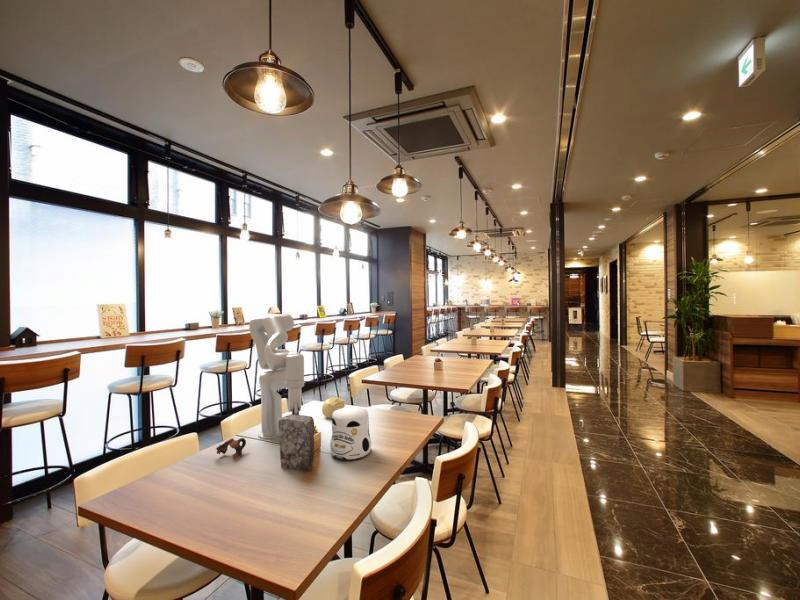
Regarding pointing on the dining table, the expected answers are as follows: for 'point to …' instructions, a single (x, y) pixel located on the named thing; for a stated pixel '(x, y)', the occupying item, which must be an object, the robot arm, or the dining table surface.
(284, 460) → the stone block
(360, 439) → the milk container
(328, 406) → the sculpture
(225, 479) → the dining table surface
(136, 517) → the dining table surface
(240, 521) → the dining table surface
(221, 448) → the brown animal figurine
